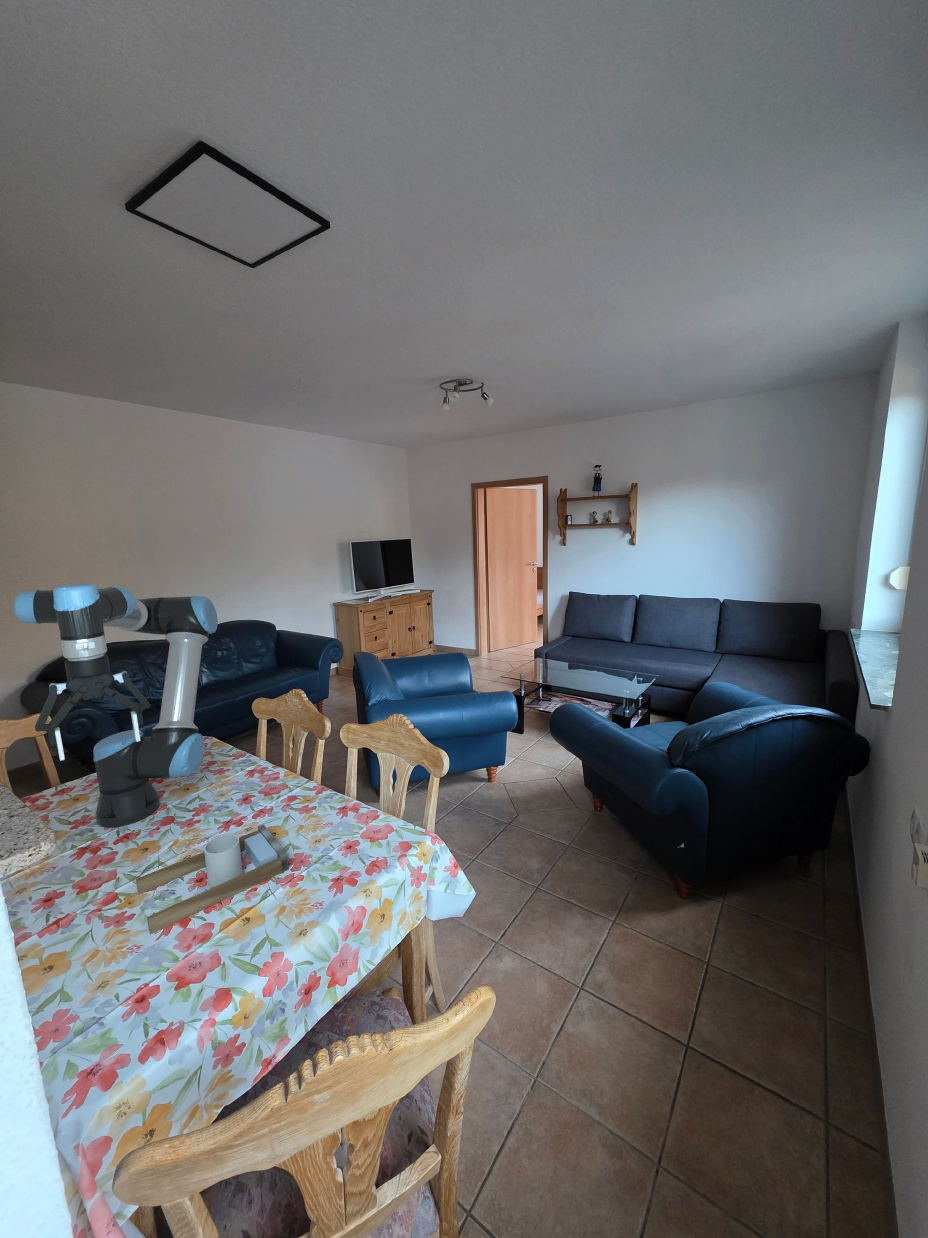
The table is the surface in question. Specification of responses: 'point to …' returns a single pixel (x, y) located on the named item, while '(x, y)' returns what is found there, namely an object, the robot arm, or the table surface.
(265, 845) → the block
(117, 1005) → the table surface
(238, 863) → the cup
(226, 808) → the table surface
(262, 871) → the channel
